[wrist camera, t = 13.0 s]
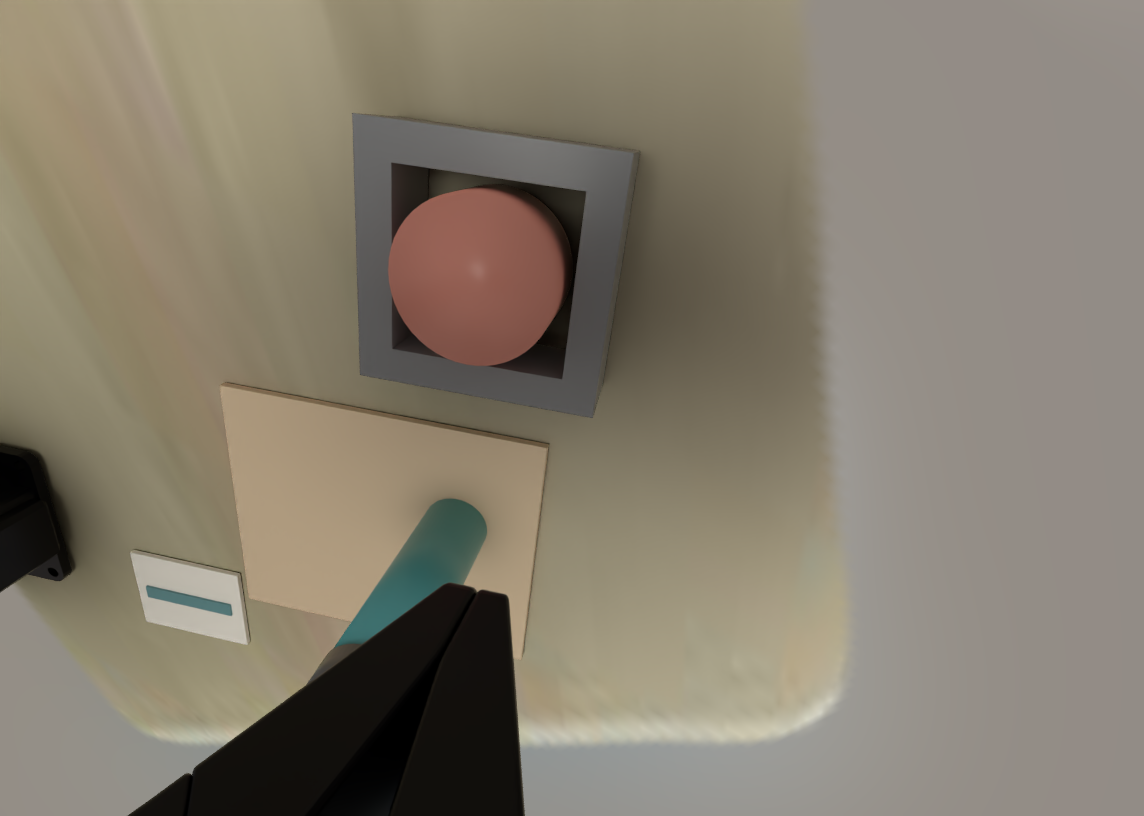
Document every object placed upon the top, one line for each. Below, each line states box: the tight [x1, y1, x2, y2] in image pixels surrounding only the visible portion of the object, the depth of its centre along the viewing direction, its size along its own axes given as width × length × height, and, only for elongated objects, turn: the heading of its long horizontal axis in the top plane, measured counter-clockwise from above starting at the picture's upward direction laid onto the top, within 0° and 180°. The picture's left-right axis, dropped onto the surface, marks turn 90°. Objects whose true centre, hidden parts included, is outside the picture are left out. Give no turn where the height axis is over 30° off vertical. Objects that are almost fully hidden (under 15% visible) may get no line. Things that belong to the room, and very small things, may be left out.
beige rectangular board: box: [219, 382, 549, 660], centre depth 23 cm, size 12×10×1 cm
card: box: [130, 550, 250, 645], centre depth 26 cm, size 5×4×1 cm
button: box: [388, 184, 573, 366], centre depth 16 cm, size 4×4×2 cm
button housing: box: [352, 113, 640, 418], centre depth 17 cm, size 7×7×2 cm
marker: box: [307, 499, 487, 684], centre depth 18 cm, size 2×2×8 cm
